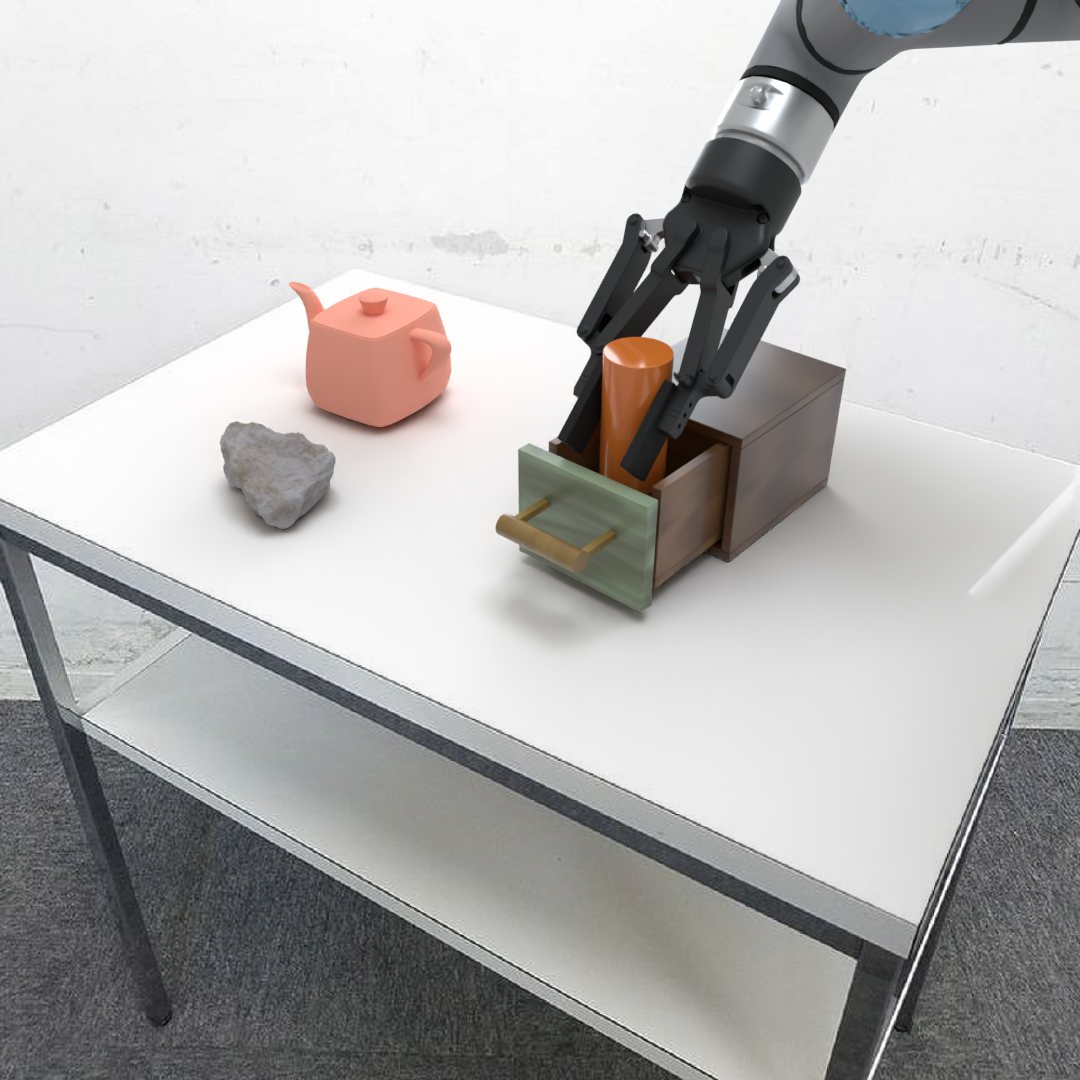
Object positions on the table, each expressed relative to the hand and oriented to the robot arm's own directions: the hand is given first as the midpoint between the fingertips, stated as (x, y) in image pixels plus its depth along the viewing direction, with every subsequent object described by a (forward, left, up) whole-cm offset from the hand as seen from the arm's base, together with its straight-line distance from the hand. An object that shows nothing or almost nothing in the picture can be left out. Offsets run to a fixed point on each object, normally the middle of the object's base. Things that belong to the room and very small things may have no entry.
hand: (600, 459), depth 82 cm
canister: (0, -4, -3) cm, 5 cm away
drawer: (0, -2, -9) cm, 9 cm away
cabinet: (0, -15, -10) cm, 18 cm away
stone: (+26, +9, -10) cm, 29 cm away
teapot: (+33, -8, -10) cm, 36 cm away
